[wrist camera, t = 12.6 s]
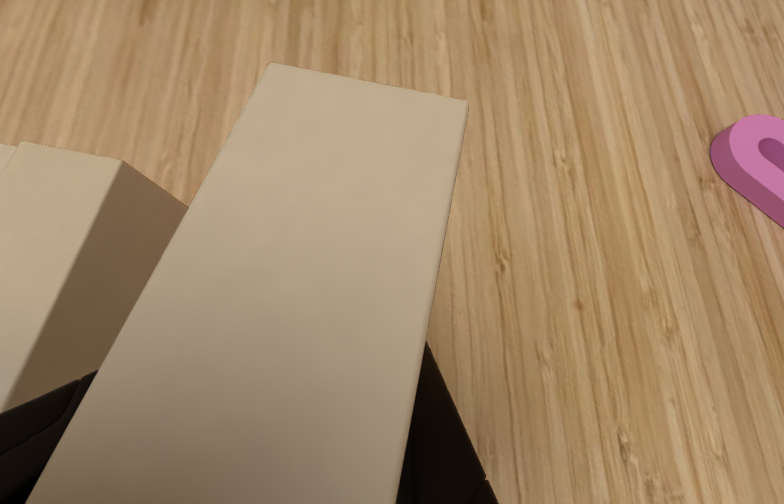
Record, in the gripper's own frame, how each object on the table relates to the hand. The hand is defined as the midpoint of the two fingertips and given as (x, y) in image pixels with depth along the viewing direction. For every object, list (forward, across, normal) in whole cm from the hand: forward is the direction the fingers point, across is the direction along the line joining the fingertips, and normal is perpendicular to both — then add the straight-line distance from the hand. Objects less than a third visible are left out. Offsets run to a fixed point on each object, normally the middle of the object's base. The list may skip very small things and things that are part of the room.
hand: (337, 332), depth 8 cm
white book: (+4, 0, +8) cm, 9 cm away
